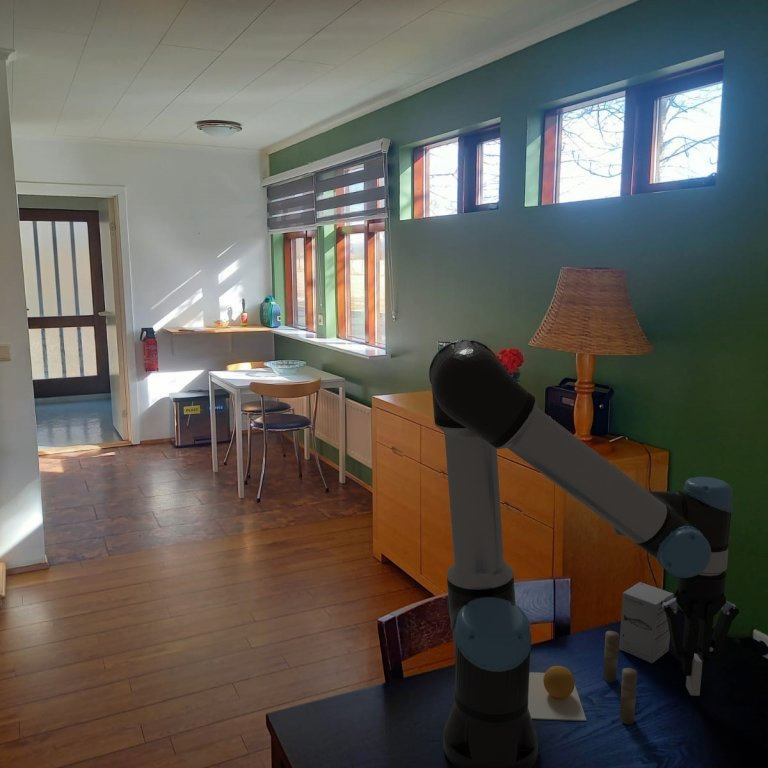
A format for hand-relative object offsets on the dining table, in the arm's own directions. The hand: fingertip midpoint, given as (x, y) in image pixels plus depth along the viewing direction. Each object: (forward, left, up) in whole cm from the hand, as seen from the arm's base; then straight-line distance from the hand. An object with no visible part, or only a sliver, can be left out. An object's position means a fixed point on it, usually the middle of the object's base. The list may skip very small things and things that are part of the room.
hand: (692, 690), depth 132 cm
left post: (-13, +6, -2) cm, 15 cm away
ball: (-24, 0, +1) cm, 24 cm away
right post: (-13, -6, -2) cm, 15 cm away
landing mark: (-27, 0, -2) cm, 27 cm away
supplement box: (-4, +16, -2) cm, 17 cm away
